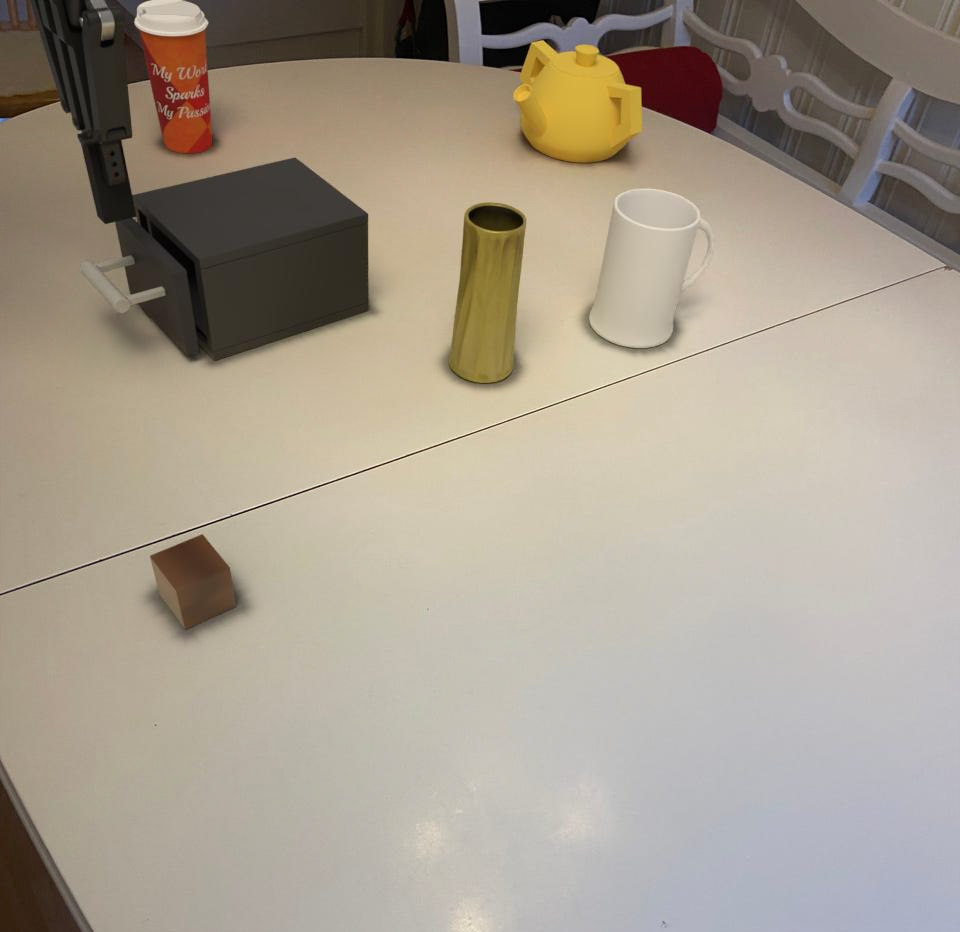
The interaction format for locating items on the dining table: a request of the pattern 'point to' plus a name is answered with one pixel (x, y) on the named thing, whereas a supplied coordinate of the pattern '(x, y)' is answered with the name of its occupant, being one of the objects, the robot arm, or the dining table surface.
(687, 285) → the mug
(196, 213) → the dark grey storage box
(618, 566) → the dining table surface
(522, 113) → the teapot
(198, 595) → the block
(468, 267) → the vase
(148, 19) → the paper cup
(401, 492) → the dining table surface
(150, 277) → the drawer
